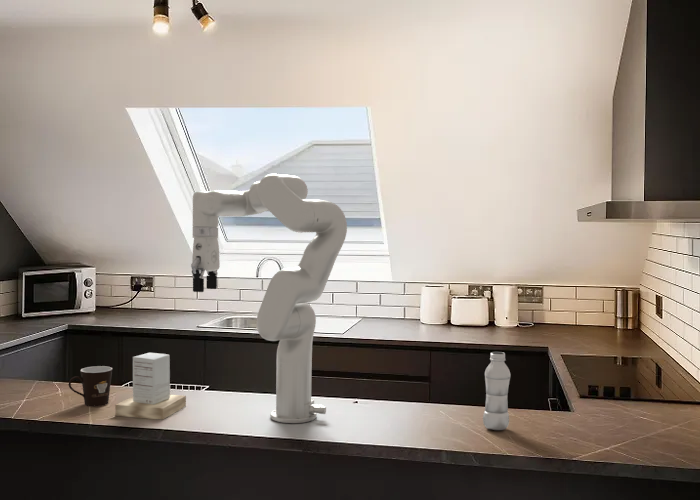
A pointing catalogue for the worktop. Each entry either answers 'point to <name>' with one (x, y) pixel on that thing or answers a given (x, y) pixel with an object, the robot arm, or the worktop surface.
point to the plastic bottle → (496, 393)
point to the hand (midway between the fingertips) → (205, 290)
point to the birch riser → (150, 408)
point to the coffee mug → (94, 385)
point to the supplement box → (151, 378)
